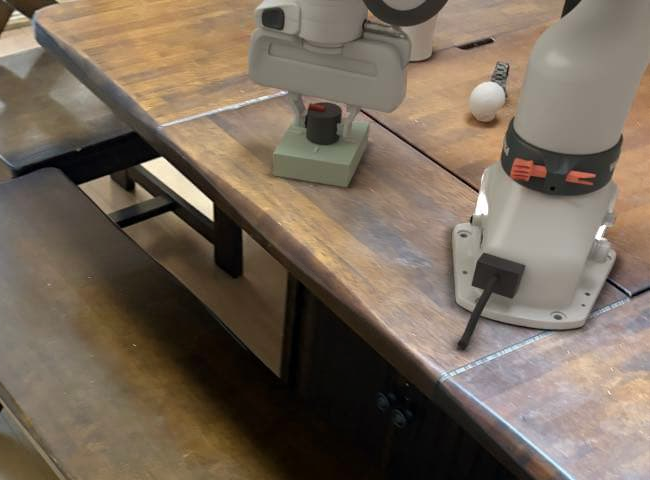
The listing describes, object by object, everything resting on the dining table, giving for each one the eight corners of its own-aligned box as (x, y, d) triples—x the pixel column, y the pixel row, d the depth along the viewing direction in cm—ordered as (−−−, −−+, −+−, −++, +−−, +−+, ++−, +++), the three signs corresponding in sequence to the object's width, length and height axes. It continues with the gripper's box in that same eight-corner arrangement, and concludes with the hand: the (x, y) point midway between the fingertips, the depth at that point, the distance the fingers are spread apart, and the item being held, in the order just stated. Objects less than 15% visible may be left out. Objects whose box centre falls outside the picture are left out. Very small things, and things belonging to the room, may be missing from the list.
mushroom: (499, 129, 121) (507, 92, 118) (464, 125, 122) (471, 89, 118) (501, 113, 124) (509, 77, 121) (467, 109, 125) (474, 73, 121)
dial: (344, 133, 114) (347, 103, 111) (331, 148, 112) (334, 118, 109) (314, 126, 116) (315, 96, 113) (300, 140, 113) (302, 111, 110)
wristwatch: (482, 106, 129) (486, 90, 124) (494, 72, 128) (499, 55, 123) (502, 112, 128) (507, 96, 123) (514, 77, 128) (520, 60, 123)
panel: (347, 187, 112) (349, 164, 109) (272, 175, 113) (273, 151, 111) (367, 144, 119) (370, 121, 116) (297, 133, 121) (298, 110, 118)
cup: (372, 63, 135) (383, -37, 124) (382, 36, 141) (393, -61, 131) (440, 70, 133) (457, -30, 123) (447, 43, 140) (463, -55, 129)
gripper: (423, 19, 101) (406, 136, 112) (265, -10, 107) (263, 104, 118) (404, 39, 97) (389, 158, 108) (241, 8, 103) (242, 124, 114)
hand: (322, 130), depth 113 cm, fingers closed on dial, 4 cm apart
